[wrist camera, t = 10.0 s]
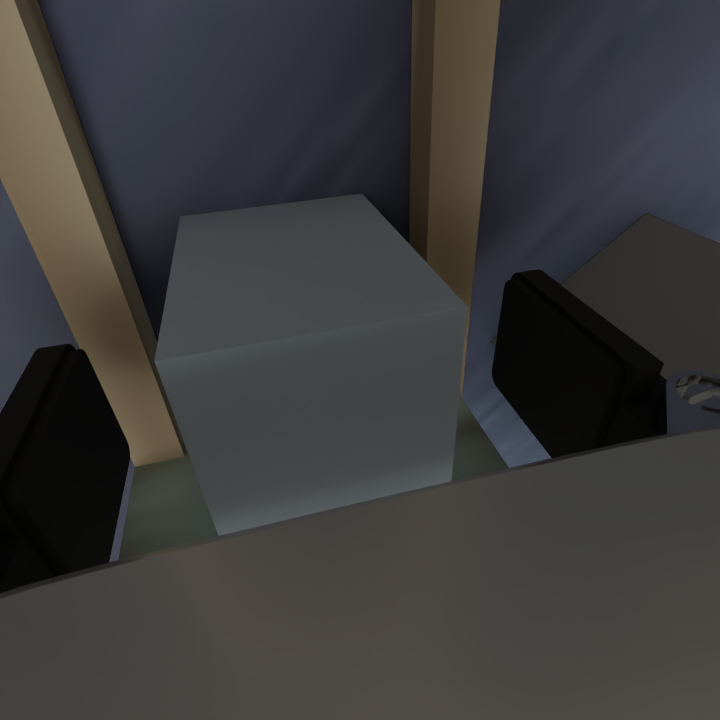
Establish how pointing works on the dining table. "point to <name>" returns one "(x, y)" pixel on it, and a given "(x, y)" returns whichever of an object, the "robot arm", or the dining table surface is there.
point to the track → (114, 273)
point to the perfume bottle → (658, 292)
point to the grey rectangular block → (308, 359)
